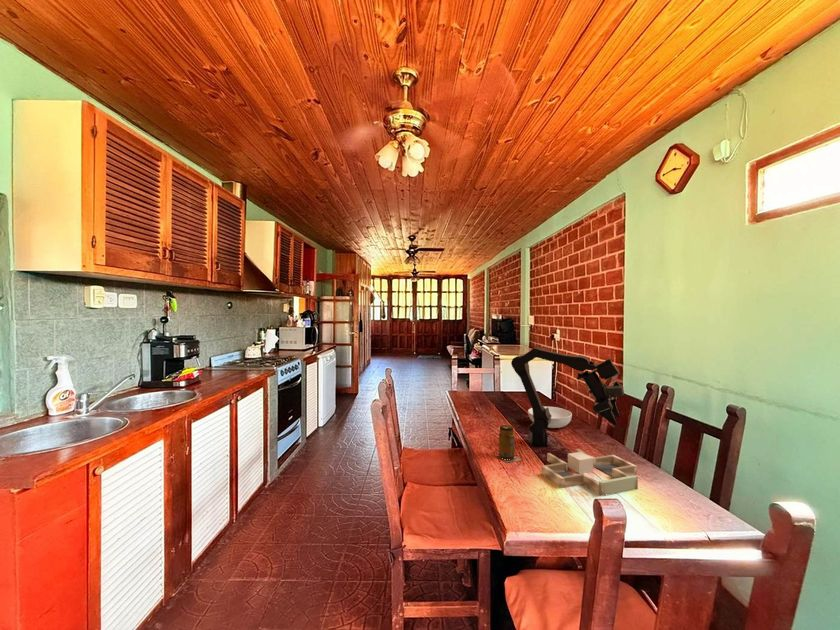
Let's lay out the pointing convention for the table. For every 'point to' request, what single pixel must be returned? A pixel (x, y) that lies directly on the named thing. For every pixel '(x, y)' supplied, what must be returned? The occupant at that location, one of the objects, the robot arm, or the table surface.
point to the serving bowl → (555, 416)
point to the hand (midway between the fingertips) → (617, 421)
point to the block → (580, 462)
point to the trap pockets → (567, 479)
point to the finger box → (607, 486)
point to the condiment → (507, 444)
